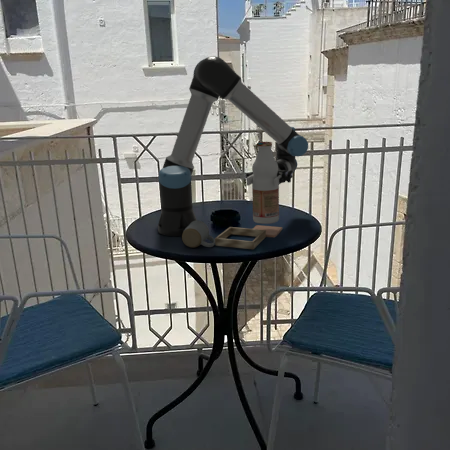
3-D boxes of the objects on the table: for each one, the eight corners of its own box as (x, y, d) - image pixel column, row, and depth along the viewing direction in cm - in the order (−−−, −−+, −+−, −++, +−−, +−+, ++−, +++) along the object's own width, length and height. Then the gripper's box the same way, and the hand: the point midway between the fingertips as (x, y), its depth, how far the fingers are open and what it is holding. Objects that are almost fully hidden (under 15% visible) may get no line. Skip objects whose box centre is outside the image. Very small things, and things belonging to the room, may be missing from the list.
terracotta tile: (247, 235, 164) (247, 232, 163) (256, 227, 172) (256, 225, 172) (274, 237, 160) (274, 235, 160) (282, 229, 169) (282, 227, 169)
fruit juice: (248, 222, 163) (246, 143, 155) (259, 215, 171) (258, 140, 163) (272, 225, 159) (272, 144, 151) (283, 218, 167) (282, 141, 159)
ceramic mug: (180, 248, 152) (179, 226, 150) (189, 240, 160) (188, 219, 158) (211, 250, 150) (210, 228, 147) (218, 242, 157) (217, 221, 155)
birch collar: (215, 245, 154) (214, 238, 153) (230, 233, 166) (229, 226, 165) (253, 249, 149) (253, 242, 148) (265, 236, 161) (265, 230, 160)
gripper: (307, 181, 173) (292, 194, 154) (252, 179, 182) (232, 191, 162) (307, 161, 171) (292, 172, 152) (252, 160, 180) (231, 170, 160)
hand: (261, 182), depth 157 cm, fingers closed on fruit juice, 9 cm apart
